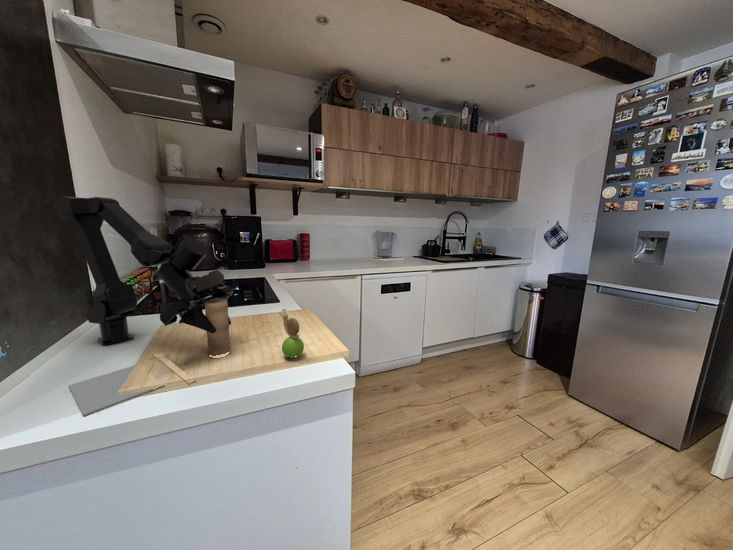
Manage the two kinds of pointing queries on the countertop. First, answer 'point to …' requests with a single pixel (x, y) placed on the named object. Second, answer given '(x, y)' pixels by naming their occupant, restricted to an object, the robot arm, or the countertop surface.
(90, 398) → the mat
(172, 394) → the countertop surface
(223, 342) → the smooth brown cylinder
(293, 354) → the snail figurine
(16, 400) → the countertop surface
